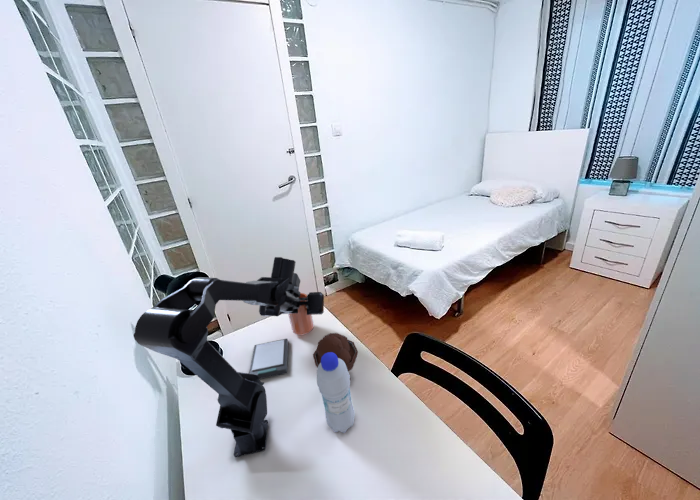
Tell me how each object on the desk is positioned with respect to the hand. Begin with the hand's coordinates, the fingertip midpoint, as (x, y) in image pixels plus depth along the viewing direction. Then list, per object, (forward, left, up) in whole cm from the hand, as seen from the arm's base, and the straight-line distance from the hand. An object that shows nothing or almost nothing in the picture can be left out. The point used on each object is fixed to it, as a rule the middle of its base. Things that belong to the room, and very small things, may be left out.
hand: (300, 308), depth 89 cm
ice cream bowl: (-23, -9, -8) cm, 26 cm away
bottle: (-34, -7, -8) cm, 36 cm away
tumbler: (-1, 0, -7) cm, 7 cm away
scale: (-11, +10, -8) cm, 17 cm away
